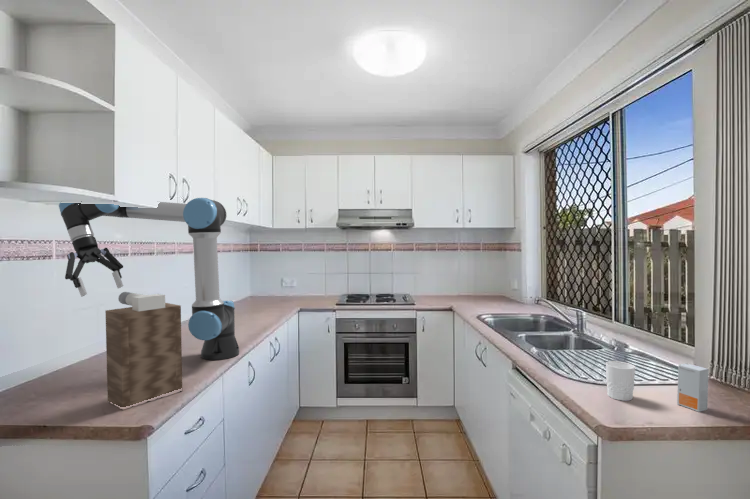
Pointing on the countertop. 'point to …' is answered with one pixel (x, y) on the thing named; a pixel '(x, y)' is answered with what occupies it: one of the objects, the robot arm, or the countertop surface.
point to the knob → (142, 301)
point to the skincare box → (692, 387)
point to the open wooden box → (143, 353)
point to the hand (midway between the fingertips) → (103, 291)
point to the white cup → (620, 380)
